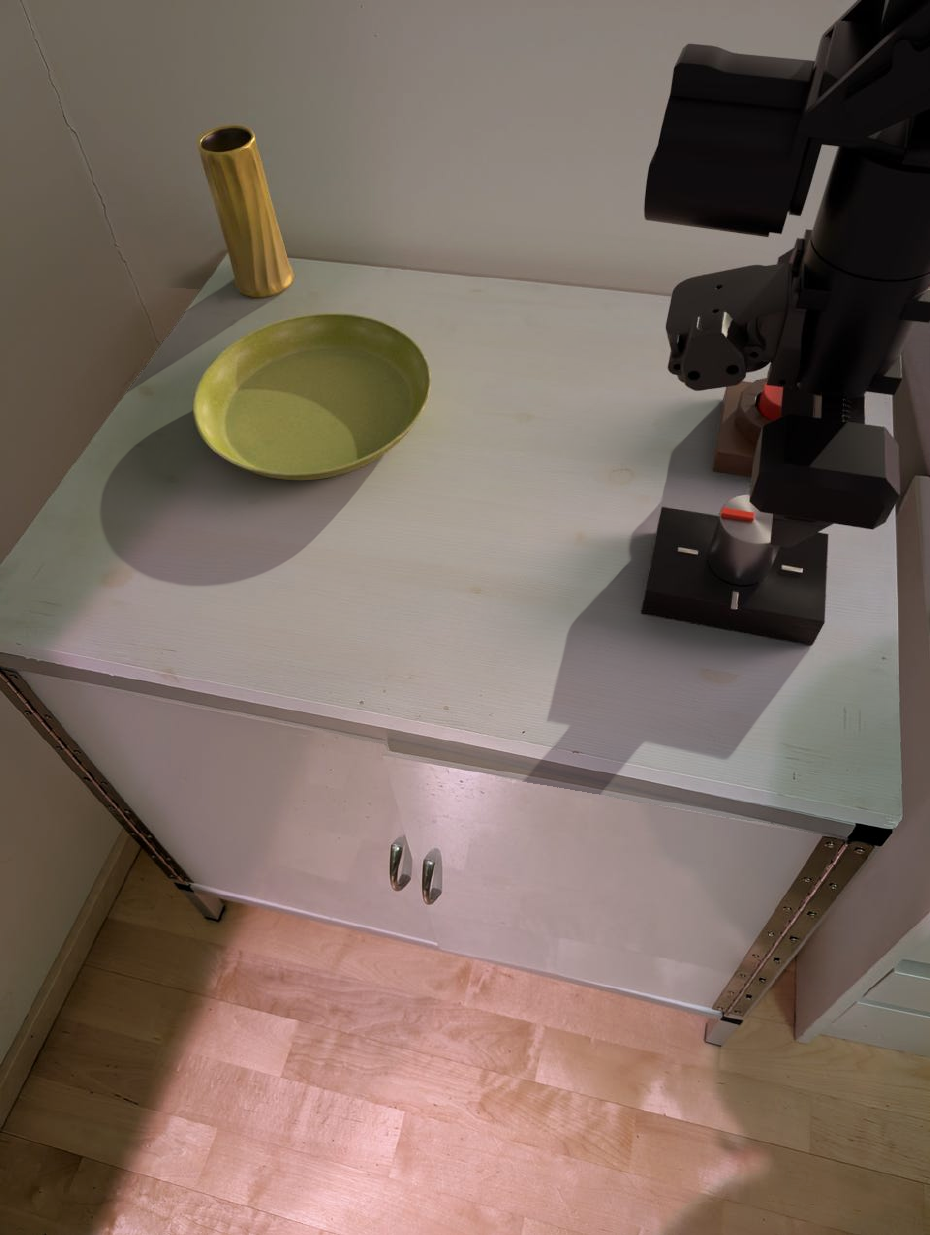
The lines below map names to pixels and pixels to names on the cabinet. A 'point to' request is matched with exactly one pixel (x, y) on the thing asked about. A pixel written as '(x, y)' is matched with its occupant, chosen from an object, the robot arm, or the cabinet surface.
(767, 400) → the button
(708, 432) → the cabinet surface
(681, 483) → the cabinet surface
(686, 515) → the panel
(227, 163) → the vase
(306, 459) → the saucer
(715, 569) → the knob
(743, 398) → the button block
